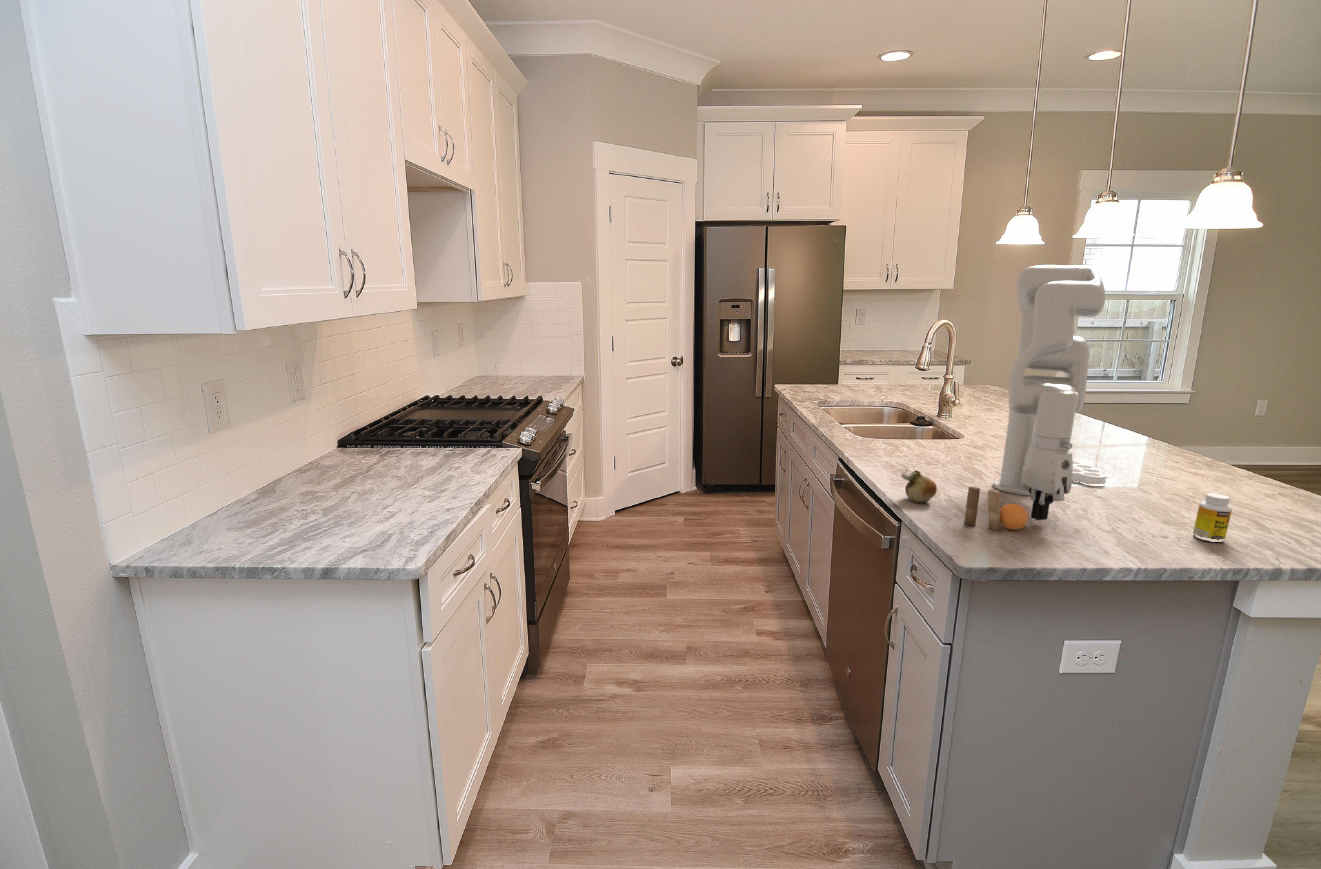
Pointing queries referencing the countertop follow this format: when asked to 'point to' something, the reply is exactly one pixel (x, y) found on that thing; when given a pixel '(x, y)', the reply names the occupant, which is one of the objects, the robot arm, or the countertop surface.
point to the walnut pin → (972, 506)
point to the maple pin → (994, 509)
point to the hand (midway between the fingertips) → (1038, 518)
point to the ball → (1013, 516)
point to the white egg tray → (1087, 474)
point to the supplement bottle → (1213, 517)
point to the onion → (919, 487)
